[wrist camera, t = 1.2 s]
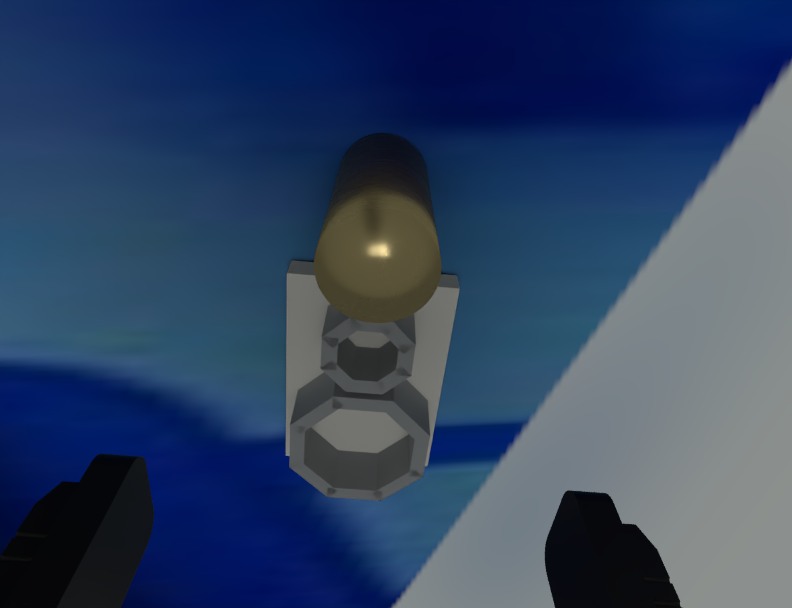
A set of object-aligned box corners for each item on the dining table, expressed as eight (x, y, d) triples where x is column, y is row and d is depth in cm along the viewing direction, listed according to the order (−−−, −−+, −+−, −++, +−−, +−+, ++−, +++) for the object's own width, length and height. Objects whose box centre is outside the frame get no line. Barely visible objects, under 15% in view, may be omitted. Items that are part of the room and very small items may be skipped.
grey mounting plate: (291, 260, 30) (276, 302, 27) (456, 275, 31) (465, 319, 27) (289, 438, 37) (277, 493, 33) (426, 449, 37) (429, 504, 34)
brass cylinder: (341, 128, 27) (315, 202, 18) (433, 138, 27) (450, 216, 18) (336, 215, 29) (311, 317, 20) (421, 223, 29) (432, 328, 21)
